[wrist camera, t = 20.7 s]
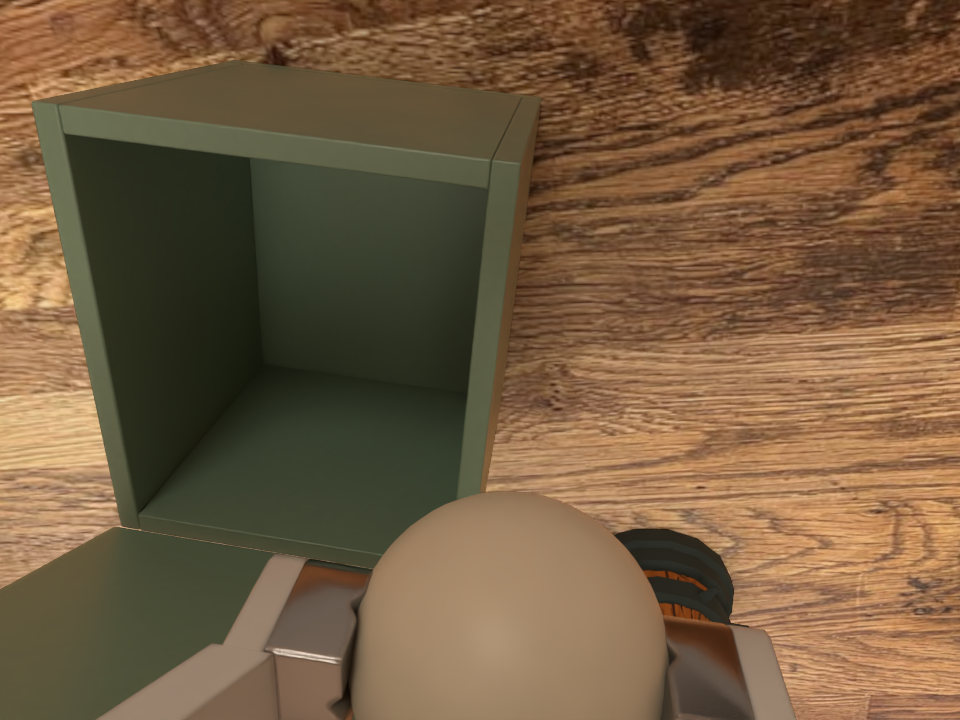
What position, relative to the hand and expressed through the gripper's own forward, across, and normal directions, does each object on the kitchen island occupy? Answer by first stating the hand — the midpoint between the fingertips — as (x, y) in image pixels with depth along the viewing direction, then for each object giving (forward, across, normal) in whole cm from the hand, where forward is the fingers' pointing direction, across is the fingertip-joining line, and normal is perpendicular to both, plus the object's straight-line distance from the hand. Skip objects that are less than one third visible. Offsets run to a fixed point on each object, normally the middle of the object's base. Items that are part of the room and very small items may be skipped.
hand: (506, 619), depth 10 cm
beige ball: (0, 0, 0) cm, 1 cm away
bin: (+24, +8, +4) cm, 26 cm away
